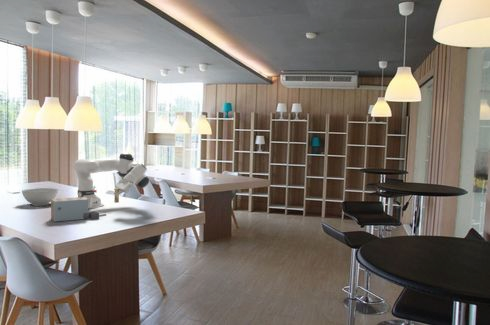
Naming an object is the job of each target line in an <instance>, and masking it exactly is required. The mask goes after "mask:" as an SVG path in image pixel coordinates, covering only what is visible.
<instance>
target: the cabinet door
mask: <svg viewBox="0 0 490 325" xmlns="http://www.w3.org/2000/svg"><path fill="white" fill-rule="evenodd" d="M88 212H89V208H88V199H79V200H63V201H54V221H53V222H64V221H75V220H84V213H88Z"/></svg>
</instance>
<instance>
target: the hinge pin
mask: <svg viewBox="0 0 490 325" xmlns="http://www.w3.org/2000/svg"><path fill="white" fill-rule="evenodd" d="M113 190H114V193H115V194H114V203H116V204H117V203H120V194H119V195H118V196H117V195H116V193H117V192H119V188H115V187H114V189H113Z"/></svg>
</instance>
